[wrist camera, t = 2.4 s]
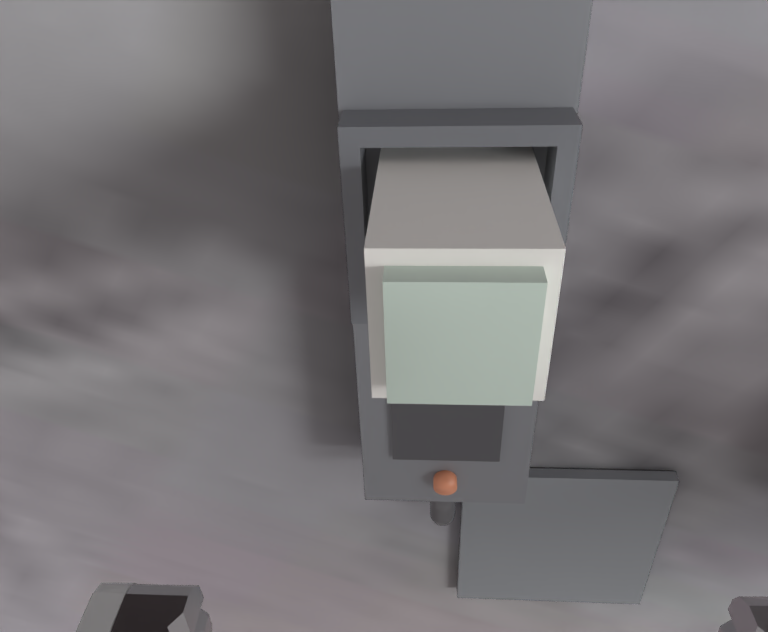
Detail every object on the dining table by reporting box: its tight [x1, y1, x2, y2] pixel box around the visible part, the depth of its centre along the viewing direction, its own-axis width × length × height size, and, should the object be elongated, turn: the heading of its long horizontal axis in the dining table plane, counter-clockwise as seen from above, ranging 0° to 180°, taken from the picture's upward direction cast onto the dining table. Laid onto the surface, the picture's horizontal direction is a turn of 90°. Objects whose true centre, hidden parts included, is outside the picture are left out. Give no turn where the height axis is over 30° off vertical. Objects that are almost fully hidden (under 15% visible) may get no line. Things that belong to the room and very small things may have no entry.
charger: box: [364, 147, 566, 406], centre depth 19 cm, size 4×4×7 cm
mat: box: [457, 468, 679, 604], centre depth 35 cm, size 10×10×1 cm
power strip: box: [330, 0, 593, 526], centre depth 25 cm, size 7×25×4 cm, turn 2°
